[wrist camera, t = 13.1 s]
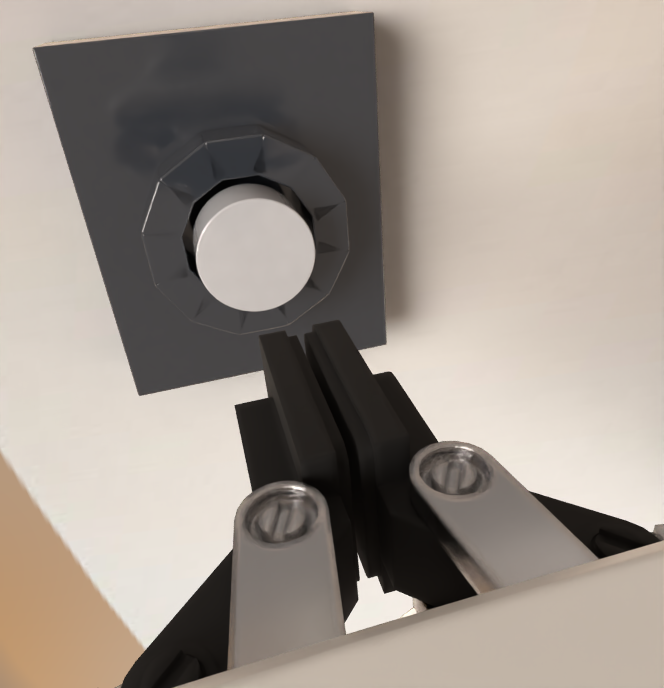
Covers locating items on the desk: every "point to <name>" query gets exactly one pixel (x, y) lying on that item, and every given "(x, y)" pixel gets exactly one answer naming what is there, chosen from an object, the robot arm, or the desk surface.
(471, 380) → the desk surface
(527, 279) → the desk surface
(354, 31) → the grey button base
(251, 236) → the white push button
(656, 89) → the desk surface
